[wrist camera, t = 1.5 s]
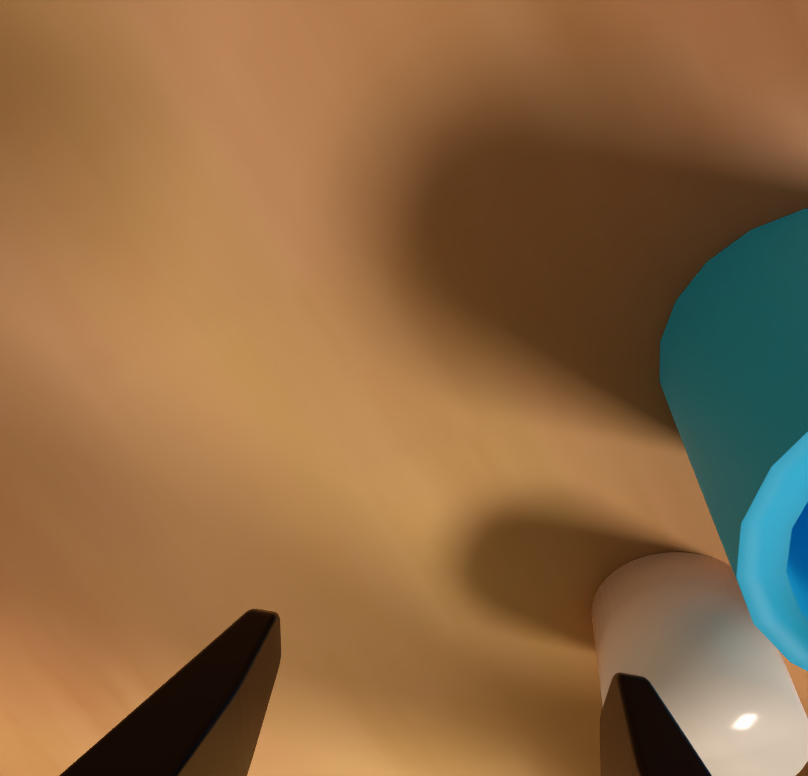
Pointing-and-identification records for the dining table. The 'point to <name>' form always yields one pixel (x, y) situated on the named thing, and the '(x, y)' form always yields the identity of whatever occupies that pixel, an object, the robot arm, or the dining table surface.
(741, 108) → the dining table surface
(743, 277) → the mug
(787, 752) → the cream rounded cylinder
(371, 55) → the dining table surface
